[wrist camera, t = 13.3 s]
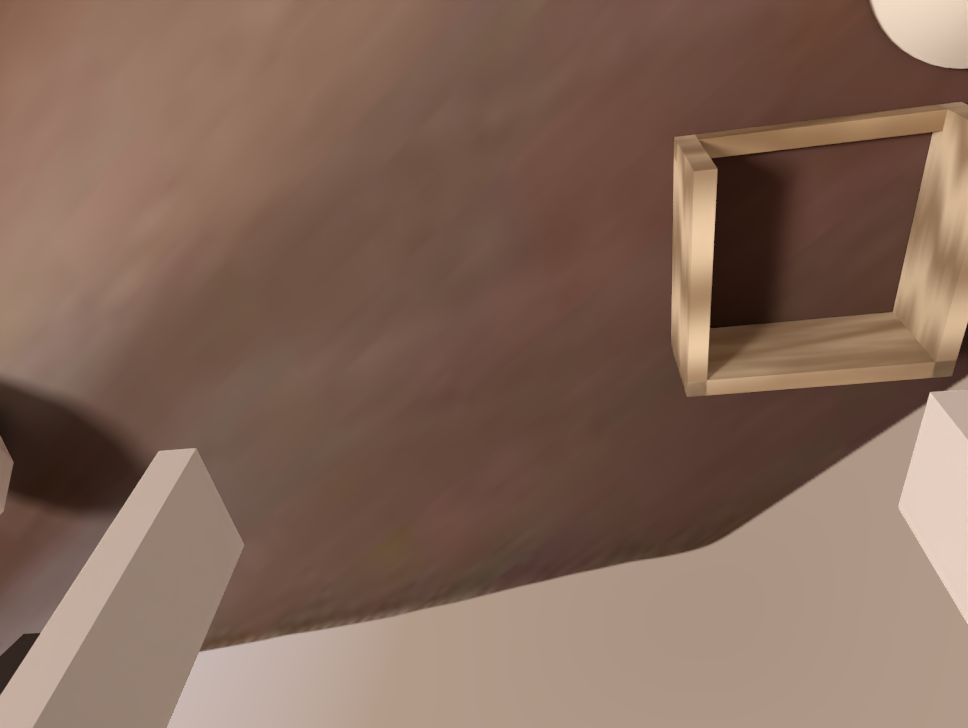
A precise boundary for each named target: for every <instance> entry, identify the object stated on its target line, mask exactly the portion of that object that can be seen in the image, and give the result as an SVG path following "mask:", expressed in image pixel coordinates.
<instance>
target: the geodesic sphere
mask: <svg viewBox="0 0 968 728" xmlns="http://www.w3.org/2000/svg"><path fill="white" fill-rule="evenodd" d="M13 463H14V462H13V460H12V458H11V456H10V454H9V452H8V450H7V448H6V446H5V444H4V442H3V440H2V438H1V436H0V514H1V513H2V512H3V511H4V506H5V502H6V497H7V492H8V487H9V482H10V478H11V473H12V468H13Z"/></svg>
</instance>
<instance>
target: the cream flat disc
mask: <svg viewBox="0 0 968 728" xmlns="http://www.w3.org/2000/svg"><path fill="white" fill-rule="evenodd" d="M868 1H869V4H870V7H871V10H872V13H873V16H874V18H875V20H876V21H877V23H878V25H879V27H880V29H881V30H882V31H883V33H884V34H885V35H886V36H887V38H888V39H889V40H890V41H891V42H892V43H893V44H895V45H896V46H897V47H898V48H899V49H901V50H902V51H904V52H905V53H907V54H909V55H910V56H912V57H914V58H917V59H919V60H922V61H924V62H927V63H929V64H932V65H936V66H941V67H945V68H958V69H966V68H968V0H868Z"/></svg>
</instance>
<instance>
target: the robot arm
mask: <svg viewBox="0 0 968 728" xmlns="http://www.w3.org/2000/svg"><path fill="white" fill-rule="evenodd" d="M898 508H899V510H900V511H901V513H902V515H903V516H904V518H905V520H906V521H907V523H908V525H909V526H910V528H911V530H912V532H913V533H914V535H915V537H916V538H917V540H918V542H919V543H920V545H921V547H922V548H923V550H924V552H925V553H926V555H927V557H928V558H929V560H930V562H931V563H932V565H933V567H934V569H935V570H936V572H937V574H938V575H939V577H940V579H941V580H942V582H943V584H944V585H945V587H946V589H947V590H948V592H949V594H950V595H951V597H952V599H953V600H954V602H955V604H956V605H957V607H958V609H959V611H960V612H961V614H962V616H963V617H964V619H965V621H966V622H967V624H968V389H965V390H952V391H939V392H930V394H929V398H928V401H927V405H926V409H925V412H924V416H923V420H922V423H921V427H920V430H919V434H918V437H917V441H916V445H915V449H914V452H913V455H912V459H911V463H910V466H909V470H908V474H907V477H906V481H905V484H904V488H903V492H902V495H901V499H900V502H899V506H898ZM243 547H244V544H243V541H242V539H241V537H240V535H239V533H238V531H237V529H236V527H235V525H234V523H233V521H232V519H231V517H230V515H229V513H228V511H227V509H226V507H225V505H224V503H223V501H222V499H221V497H220V495H219V493H218V491H217V489H216V487H215V485H214V483H213V481H212V479H211V477H210V475H209V473H208V471H207V469H206V467H205V465H204V463H203V461H202V459H201V457H200V455H199V453H198V451H197V449H196V448H192V449H179V450H166V451H158V453H157V455H156V456H155V458H154V459H153V461H152V462H151V464H150V465H149V467H148V468H147V470H146V471H145V473H144V475H143V476H142V478H141V479H140V481H139V482H138V484H137V485H136V487H135V488H134V490H133V492H132V493H131V495H130V496H129V498H128V499H127V501H126V502H125V504H124V505H123V507H122V509H121V510H120V512H119V513H118V515H117V516H116V518H115V519H114V521H113V522H112V524H111V525H110V527H109V529H108V530H107V532H106V533H105V535H104V536H103V538H102V539H101V541H100V542H99V544H98V546H97V547H96V549H95V550H94V552H93V553H92V555H91V556H90V558H89V559H88V561H87V563H86V564H85V566H84V567H83V569H82V570H81V572H80V573H79V575H78V576H77V578H76V579H75V581H74V583H73V584H72V586H71V587H70V589H69V590H68V592H67V593H66V595H65V596H64V598H63V600H62V601H61V603H60V604H59V606H58V607H57V609H56V610H55V612H54V613H53V615H52V616H51V618H50V620H49V621H48V623H47V624H46V626H45V627H44V629H43V630H42V632H41V633H34V634H23V635H22V636H21V637H20V638H19V639H18V640H17V641H16V642H15V643H14V644H13V645H12V646H11V647H9V648H8V649H7V650H6V651H5V652H4V653H3V654H2V655H1V656H0V728H167V725H168V723H169V720H170V718H171V716H172V713H173V711H174V709H175V706H176V704H177V702H178V699H179V697H180V695H181V692H182V690H183V688H184V685H185V683H186V681H187V678H188V676H189V674H190V671H191V669H192V667H193V664H194V662H195V660H196V657H197V655H198V653H199V650H200V648H201V646H202V643H203V641H204V639H205V636H206V634H207V631H208V629H209V627H210V624H211V622H212V620H213V617H214V615H215V613H216V610H217V608H218V606H219V603H220V601H221V599H222V596H223V594H224V592H225V589H226V587H227V585H228V582H229V580H230V578H231V575H232V573H233V571H234V568H235V566H236V564H237V561H238V559H239V556H240V554H241V552H242V549H243Z"/></svg>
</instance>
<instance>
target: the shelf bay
mask: <svg viewBox="0 0 968 728" xmlns="http://www.w3.org/2000/svg"><path fill="white" fill-rule="evenodd" d="M928 132H933V133H932V138H931V143H930V147H929V152H928V156H927V161H926V165H925V170H924V174H923V179H922V183H921V188H920V192H919V197H918V201H917V206H916V210H915V215H914V219H913V224H912V228H911V233H910V237H909V242H908V246H907V251H906V255H905V260H904V264H903V269H902V273H901V278H900V282H899V287H898V291H897V296H896V300H895V305H894V309H893V312H888V313H877V314H866V315H855V316H843V317H832V318H821V319H810V320H799V321H788V322H777V323H766V324H755V325H743V326H732V327H721V328H710V310H711V290H712V270H713V251H714V231H715V211H716V191H717V171H718V169H717V167H716V166H715V164H714V163H713V161H712V160H711V158H718V157H726V156H735V155H743V154H751V153H760V152H768V151H777V150H785V149H794V148H802V147H810V146H819V145H827V144H836V143H844V142H852V141H861V140H869V139H878V138H886V137H894V136H903V135H911V134H920V133H928ZM967 323H968V105H967V104H965V103H963V102H955V103H947V104H939V105H931V106H923V107H915V108H907V109H898V110H890V111H882V112H874V113H866V114H858V115H850V116H842V117H834V118H825V119H817V120H809V121H801V122H793V123H785V124H777V125H769V126H761V127H752V128H744V129H736V130H728V131H720V132H712V133H704V134H696V135H688V136H679V137H674V186H673V258H672V329H671V347H672V350H673V353H674V356H675V360H676V363H677V366H678V369H679V372H680V376H681V379H682V382H683V385H684V388H685V392H686V395H687V397H692V396H705V395H718V394H730V393H743V392H756V391H768V390H781V389H794V388H807V387H819V386H832V385H845V384H857V383H870V382H883V381H895V380H908V379H921V378H934V377H946V376H952V374H953V370H954V367H955V364H956V360H957V357H958V353H959V350H960V347H961V343H962V340H963V336H964V333H965V330H966V326H967Z"/></svg>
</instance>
